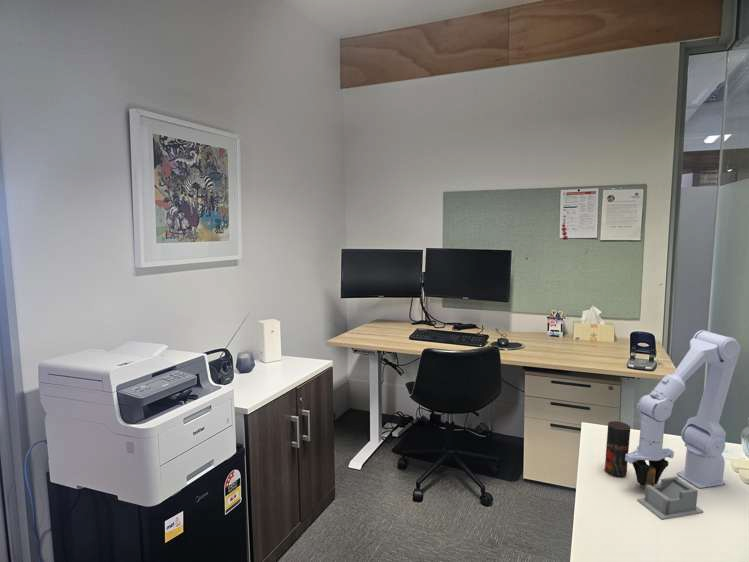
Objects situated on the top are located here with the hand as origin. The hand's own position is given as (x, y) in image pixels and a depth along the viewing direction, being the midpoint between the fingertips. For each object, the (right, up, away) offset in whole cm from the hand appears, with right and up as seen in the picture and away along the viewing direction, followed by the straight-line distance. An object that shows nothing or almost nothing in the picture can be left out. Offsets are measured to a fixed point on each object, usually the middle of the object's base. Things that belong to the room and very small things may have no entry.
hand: (647, 482), depth 138 cm
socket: (+1, -3, -9) cm, 9 cm away
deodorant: (-5, 0, +8) cm, 10 cm away
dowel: (0, -1, 0) cm, 1 cm away
